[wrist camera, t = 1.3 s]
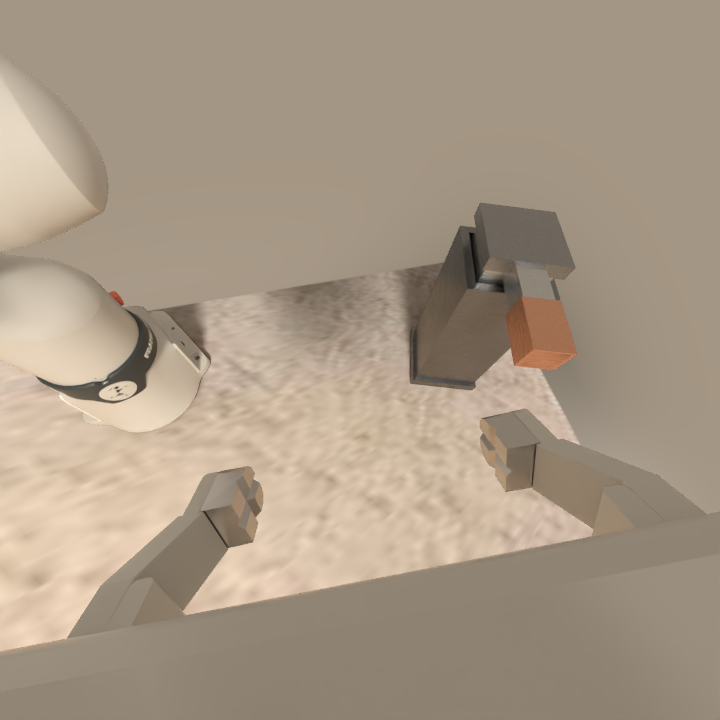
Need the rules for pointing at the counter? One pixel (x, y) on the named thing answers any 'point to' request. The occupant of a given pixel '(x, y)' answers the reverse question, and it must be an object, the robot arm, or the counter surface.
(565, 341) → the layered grey-topped block
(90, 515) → the counter surface
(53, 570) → the counter surface
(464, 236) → the sleeve
